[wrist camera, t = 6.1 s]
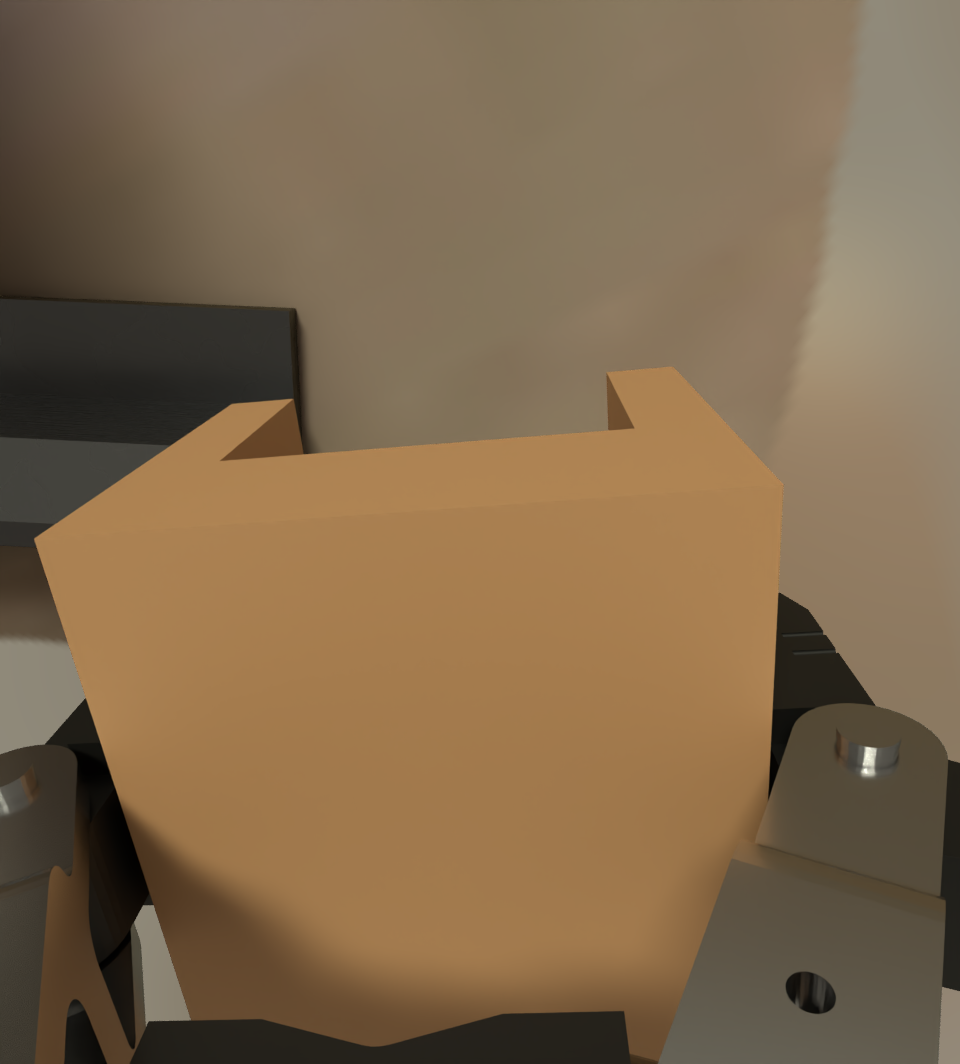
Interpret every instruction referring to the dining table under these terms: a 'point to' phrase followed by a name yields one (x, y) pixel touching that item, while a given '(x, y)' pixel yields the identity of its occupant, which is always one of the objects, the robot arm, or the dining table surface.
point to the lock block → (434, 709)
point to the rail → (120, 391)
